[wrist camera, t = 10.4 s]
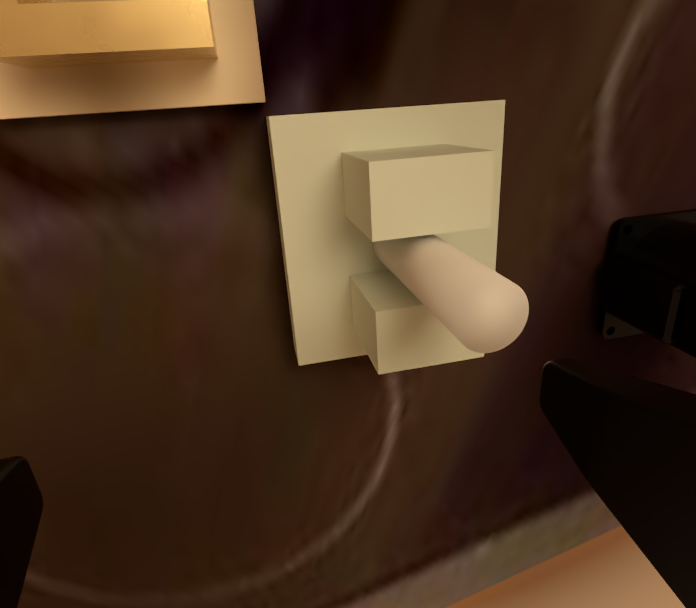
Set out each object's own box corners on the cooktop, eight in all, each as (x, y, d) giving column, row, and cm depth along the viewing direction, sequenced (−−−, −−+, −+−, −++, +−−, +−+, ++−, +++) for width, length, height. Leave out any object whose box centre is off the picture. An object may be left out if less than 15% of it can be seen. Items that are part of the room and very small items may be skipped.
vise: (481, 101, 20) (687, 88, 11) (472, 317, 24) (617, 443, 14) (265, 116, 18) (292, 116, 9) (293, 345, 22) (332, 505, 13)
